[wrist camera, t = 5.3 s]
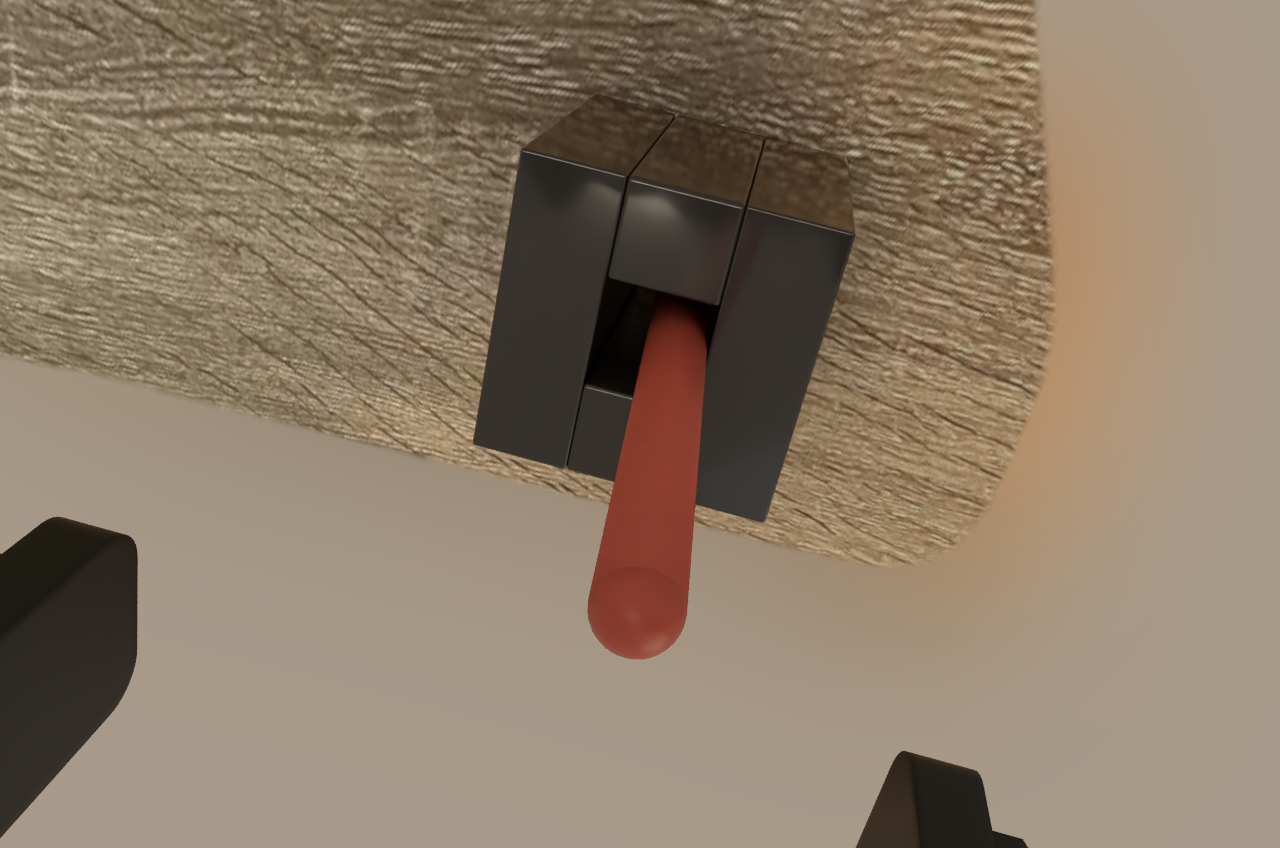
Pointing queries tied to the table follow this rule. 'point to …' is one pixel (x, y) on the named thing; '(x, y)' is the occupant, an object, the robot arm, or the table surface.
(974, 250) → the table surface
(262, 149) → the table surface
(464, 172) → the table surface
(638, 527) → the red rod
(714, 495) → the holder
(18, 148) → the table surface
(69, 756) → the robot arm
